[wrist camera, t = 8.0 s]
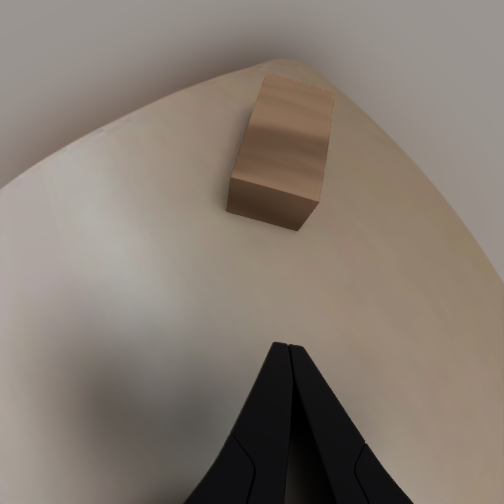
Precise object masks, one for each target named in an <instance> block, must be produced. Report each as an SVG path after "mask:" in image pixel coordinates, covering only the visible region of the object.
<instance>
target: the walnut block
mask: <svg viewBox="0 0 504 504" xmlns="http://www.w3.org/2000/svg"><path fill="white" fill-rule="evenodd" d="M334 98H335V93H332V92H329V91H326V90H323V89H320V88H317V87H314V86H311V85H307V84H304V83H301V82H297V81H294V80H291V79H287V78H283V77H280V76H276V75H272V74H268V73H266V74H265V77H264V80H263V83H262V86H261V88H260V91H259V94H258V97H257V100H256V103H255V106H254V109H253V111H252V114H251V117H250V120H249V123H248V126H247V129H246V132H245V135H244V138H243V141H242V144H241V147H240V150H239V153H238V156H237V159H236V162H235V165H234V168H233V172H232V175H231V179H230V187H229V195H228V203H227V212H229V213H233V214H236V215H240V216H244V217H247V218H251V219H255V220H259V221H262V222H266V223H269V224H273V225H277V226H280V227H284V228H287V229H291V230H294V231H298V230H299V229H300V227H301V226H302V225H303V223H304V222H305V221H306V220H307V218H308V217H309V216H310V214H311V213H312V212H313V210H314V209H315V208H316V206H317V205H318V204H319V202H320V197H321V191H322V185H323V178H324V172H325V165H326V158H327V151H328V144H329V137H330V130H331V122H332V114H333V106H334Z"/></svg>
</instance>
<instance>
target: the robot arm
mask: <svg viewBox="0 0 504 504" xmlns="http://www.w3.org/2000/svg"><path fill="white" fill-rule="evenodd" d="M183 504H414V503H413V502H412V501H411V500H410V499H409V497H408V496H407V495H406V494H405V493H404V492H403V491H402V489H401V488H400V487H399V486H398V485H397V484H396V482H395V481H394V480H393V479H392V478H391V476H390V475H389V474H388V473H387V471H386V470H385V469H384V468H383V466H382V465H381V463H380V462H379V460H378V459H377V458H376V456H375V455H374V453H373V452H372V450H371V449H370V447H369V446H368V444H367V443H365V440H364V438H363V437H362V435H361V434H360V432H359V431H358V429H357V428H356V426H355V425H354V423H353V422H352V420H351V419H350V417H349V416H348V414H347V413H346V411H345V410H344V408H343V407H342V405H341V404H340V402H339V400H338V399H337V397H336V396H335V394H334V393H333V391H332V390H331V388H330V387H329V385H328V384H327V382H326V381H325V379H324V378H323V376H322V374H321V373H320V371H319V370H318V368H317V367H316V365H315V364H314V362H313V361H312V359H311V358H310V356H309V355H308V353H307V351H306V350H305V348H304V347H303V346H299V345H292V344H289V345H287V344H286V343H280V342H273V343H272V345H271V347H270V350H269V352H268V354H267V356H266V358H265V361H264V363H263V365H262V367H261V369H260V372H259V374H258V376H257V378H256V380H255V382H254V385H253V387H252V389H251V391H250V393H249V395H248V397H247V399H246V401H245V403H244V406H243V408H242V410H241V412H240V414H239V416H238V418H237V420H236V422H235V424H234V426H233V428H232V430H231V432H230V435H229V436H228V438H227V440H226V442H225V444H224V446H223V448H222V449H221V451H220V453H219V455H218V456H217V458H216V460H215V462H214V463H213V465H212V466H211V467H210V469H209V470H208V472H207V473H206V475H205V476H204V477H203V479H202V480H201V481H200V483H199V484H198V485H197V486H196V488H195V489H194V490H193V491H192V493H191V494H190V495H189V496H188V498H187V499H186V500H185V501H184V503H183Z"/></svg>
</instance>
